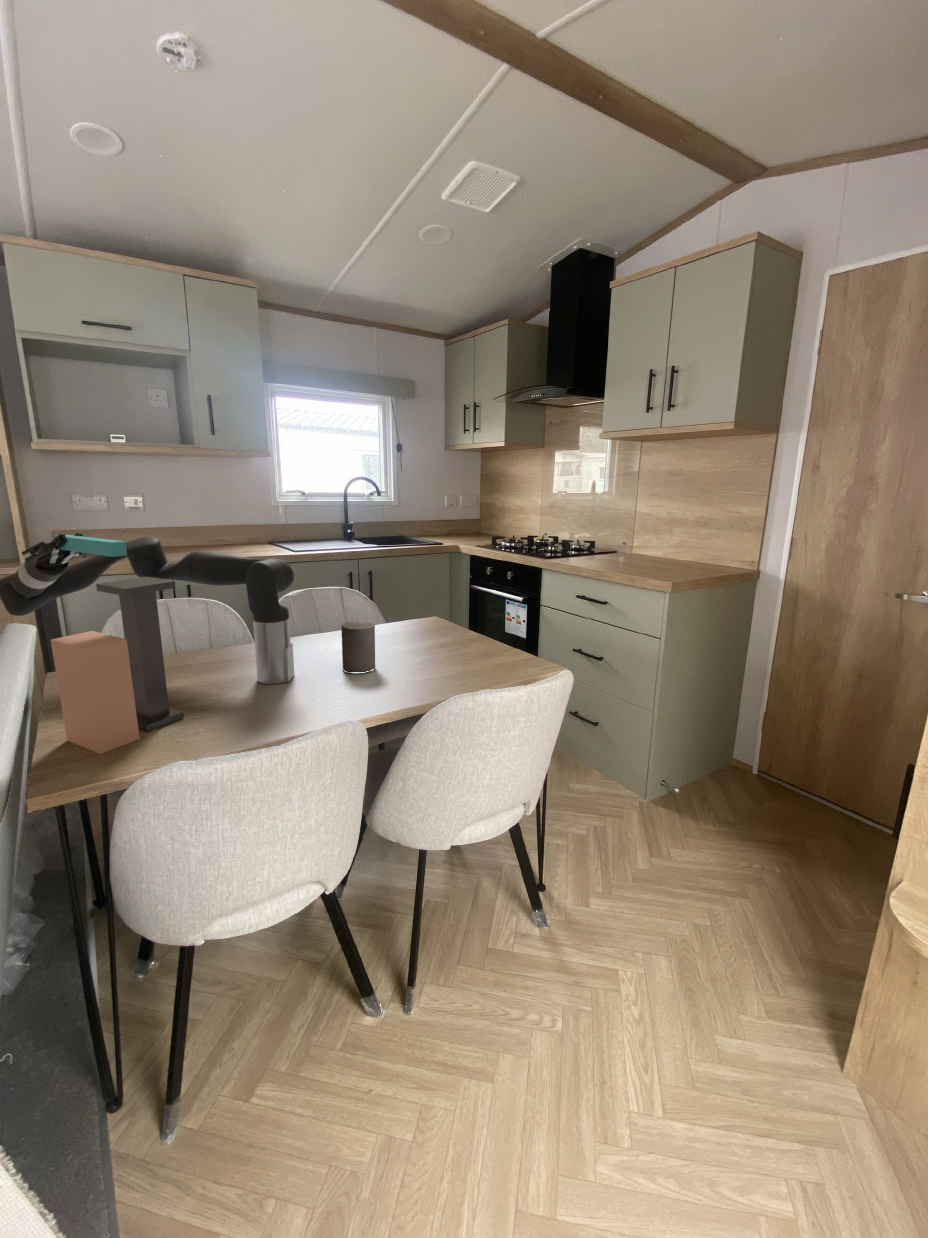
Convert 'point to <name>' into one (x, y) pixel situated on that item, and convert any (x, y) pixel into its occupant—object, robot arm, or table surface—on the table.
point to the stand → (144, 648)
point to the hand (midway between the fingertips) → (72, 536)
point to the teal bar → (95, 546)
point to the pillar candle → (358, 646)
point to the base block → (95, 690)
